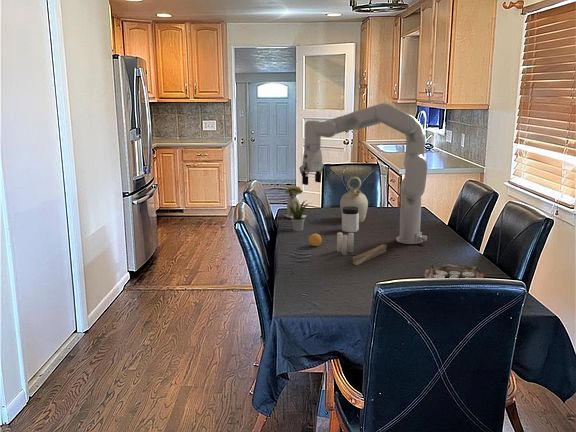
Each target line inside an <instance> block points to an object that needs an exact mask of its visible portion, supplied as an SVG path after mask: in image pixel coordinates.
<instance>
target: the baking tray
mask: <svg viewBox="0 0 576 432" xmlns="http://www.w3.org/2000/svg"><path fill="white" fill-rule="evenodd" d="M447 272H449V275H448V273H447ZM423 274H424V275H423V276H424V278H425V279H426V278H445V276H448V279H449V278H459V277H460V276H461V275H460V274H462V276H461V278H462V277H465V278H483V279H484V274H485V273H484V271H483V269H481V268H479V266H474V265H472V266H470V265H458V264H457V265H456V264H448V263H447V264H442V265H441V267H440V266H438V267H436V266H434V265H431V268H427V269H426V270H425V271H424V273H423ZM433 274H436V275H433ZM449 276H450V277H449ZM445 279H446V278H445ZM459 279H460V278H459Z"/></svg>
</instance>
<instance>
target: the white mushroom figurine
mask: <svg viewBox="0 0 576 432" xmlns="http://www.w3.org/2000/svg"><path fill="white" fill-rule="evenodd" d="M303 192H304V191H303V190H302V188H301V187H300V186H297V185H295V186H294V185H291V186H289V187H287V189H286V190H285V193H286V194H289V195H288V196H289V197H288V201H287V202H286V211H288V212H286V214H283V216H284V218H285V217H286V218H289V219H291V218H293V216H294V215H293V214H292V213H290V212H291V210H290V207H289V206H291V205H292V206H293V207H294V209H295V211H296V203H295V201H296V202H297V203H298V206H299V210H300V207H301V204H302V203H301V202H300V200H299V199H298V198H297V196H298V195H301V194H302V193H303ZM289 203H290V204H291V205H290V204H289ZM288 205H289V206H288ZM289 214H291V215H289ZM292 215H293V216H292ZM302 217H303V218H307V215H303V213H302Z"/></svg>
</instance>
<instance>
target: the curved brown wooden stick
mask: <svg viewBox="0 0 576 432" xmlns="http://www.w3.org/2000/svg"><path fill="white" fill-rule="evenodd" d="M386 252H387V245H386V244H381V245H378V246H376V247H374V248H372V249H369V250H367V251H365V252H363V253H360V254H358V255H355V256H353V257H352V264H353V265H355V266H358V265H360V264H362V263H365V262H367V261H369V260H372V259H373V258H375V257H377V256H380V255H382V254H384V253H386Z"/></svg>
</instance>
